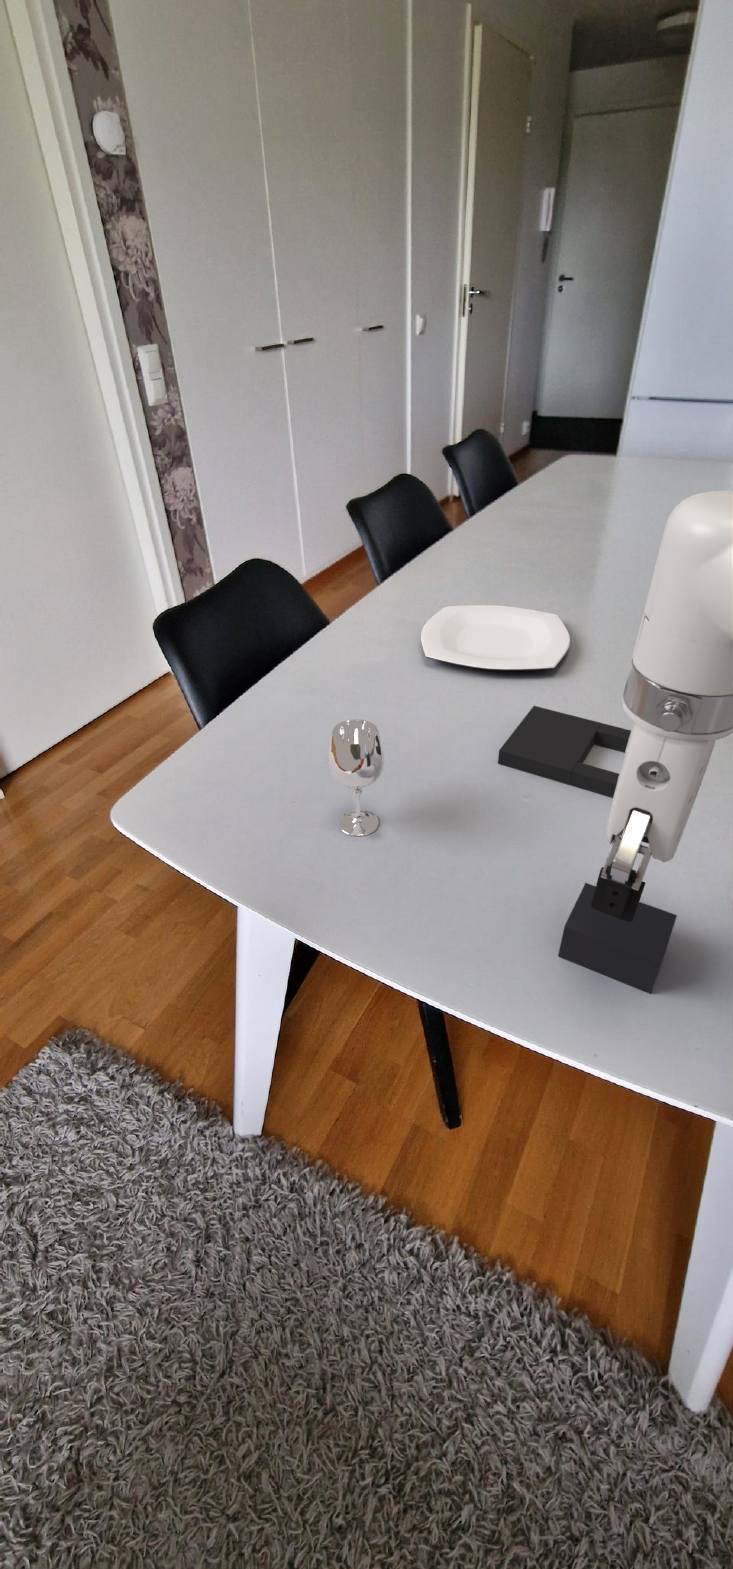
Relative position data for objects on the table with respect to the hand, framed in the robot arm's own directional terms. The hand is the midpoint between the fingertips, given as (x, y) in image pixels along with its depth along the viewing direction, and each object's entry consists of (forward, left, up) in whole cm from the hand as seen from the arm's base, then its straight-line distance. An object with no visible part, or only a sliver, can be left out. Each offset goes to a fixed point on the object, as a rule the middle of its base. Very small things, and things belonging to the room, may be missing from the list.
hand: (628, 874), depth 57 cm
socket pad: (+12, -28, -9) cm, 32 cm away
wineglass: (+29, -4, -9) cm, 30 cm away
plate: (+33, -52, -9) cm, 62 cm away
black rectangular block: (0, 0, -9) cm, 9 cm away
